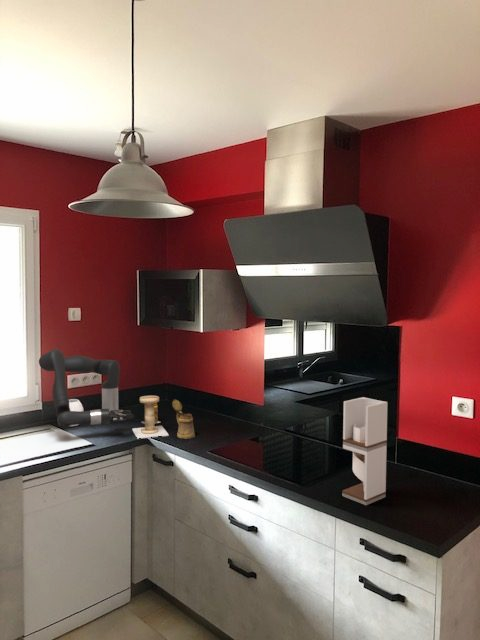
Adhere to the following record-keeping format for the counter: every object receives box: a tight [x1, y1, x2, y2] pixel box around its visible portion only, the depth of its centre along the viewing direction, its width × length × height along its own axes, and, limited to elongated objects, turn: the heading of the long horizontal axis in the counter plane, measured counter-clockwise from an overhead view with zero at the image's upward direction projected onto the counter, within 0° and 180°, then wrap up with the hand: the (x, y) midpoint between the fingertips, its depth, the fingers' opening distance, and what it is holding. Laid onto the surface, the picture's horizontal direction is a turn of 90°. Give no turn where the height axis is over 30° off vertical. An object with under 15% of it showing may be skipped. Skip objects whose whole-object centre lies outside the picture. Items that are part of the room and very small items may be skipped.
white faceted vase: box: [68, 398, 85, 428], centre depth 286 cm, size 13×13×14 cm
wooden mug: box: [171, 398, 196, 440], centre depth 266 cm, size 9×14×18 cm, turn 49°
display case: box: [341, 396, 388, 506], centre depth 190 cm, size 11×11×35 cm
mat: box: [131, 425, 170, 440], centre depth 272 cm, size 18×16×1 cm
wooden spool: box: [139, 394, 160, 434], centre depth 272 cm, size 10×10×18 cm
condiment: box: [141, 402, 160, 425], centre depth 292 cm, size 7×8×12 cm
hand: (132, 414), depth 269 cm, fingers open, 8 cm apart
